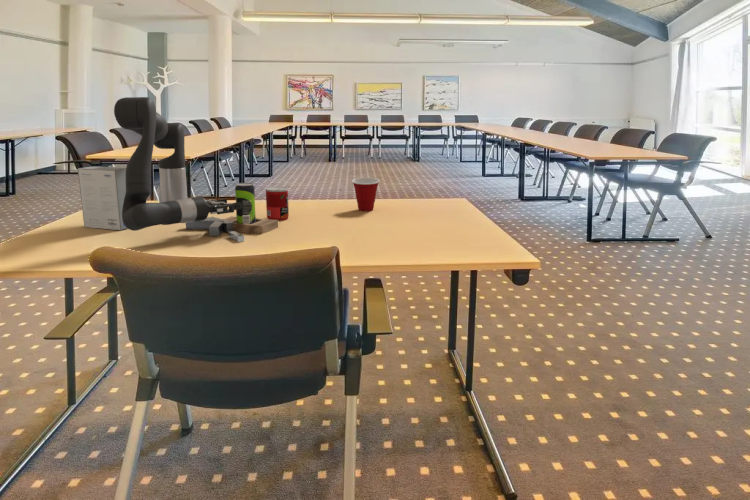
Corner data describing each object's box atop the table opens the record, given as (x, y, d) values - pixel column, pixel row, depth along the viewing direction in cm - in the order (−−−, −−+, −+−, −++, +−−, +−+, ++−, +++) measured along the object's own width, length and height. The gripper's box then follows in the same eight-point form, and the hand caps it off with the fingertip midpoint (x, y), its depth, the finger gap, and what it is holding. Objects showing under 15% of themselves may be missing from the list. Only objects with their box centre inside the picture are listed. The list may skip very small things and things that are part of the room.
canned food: (284, 221, 224) (283, 190, 222) (263, 220, 226) (262, 189, 223) (291, 217, 231) (291, 187, 229) (271, 216, 233) (270, 186, 230)
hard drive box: (136, 226, 213) (131, 167, 208) (120, 231, 206) (115, 170, 201) (99, 223, 218) (93, 165, 213) (82, 227, 211) (76, 167, 206)
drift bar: (228, 238, 199) (228, 231, 199) (234, 237, 200) (234, 231, 200) (238, 243, 193) (237, 236, 192) (244, 242, 194) (244, 235, 193)
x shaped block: (213, 237, 199) (212, 227, 198) (182, 228, 211) (182, 219, 210) (239, 232, 206) (239, 223, 205) (208, 224, 218) (208, 215, 217)
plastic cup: (348, 211, 243) (348, 180, 240) (355, 206, 253) (355, 177, 250) (376, 213, 241) (376, 181, 238) (382, 208, 251) (382, 178, 248)
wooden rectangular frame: (214, 229, 209) (213, 222, 209) (231, 223, 219) (231, 216, 219) (262, 233, 204) (262, 226, 203) (278, 227, 214) (277, 220, 213)
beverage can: (259, 227, 213) (258, 183, 210) (248, 231, 208) (246, 185, 204) (244, 225, 216) (242, 182, 212) (233, 229, 210) (231, 184, 207)
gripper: (201, 200, 189) (246, 194, 201) (176, 195, 199) (221, 189, 210) (202, 225, 191) (247, 218, 203) (178, 218, 201) (222, 212, 212)
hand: (233, 203), depth 206 cm, fingers open, 8 cm apart
